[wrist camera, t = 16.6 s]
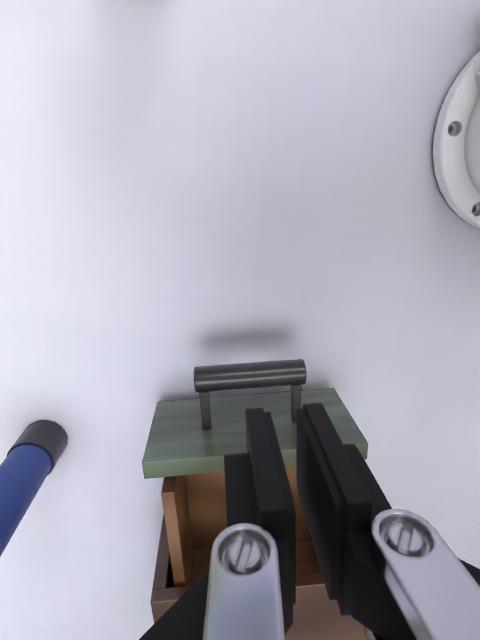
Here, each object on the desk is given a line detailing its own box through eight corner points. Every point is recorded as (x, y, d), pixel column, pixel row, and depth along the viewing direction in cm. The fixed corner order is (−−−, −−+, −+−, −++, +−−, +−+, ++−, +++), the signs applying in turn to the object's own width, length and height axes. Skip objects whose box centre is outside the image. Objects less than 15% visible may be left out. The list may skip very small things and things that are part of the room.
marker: (19, 421, 30) (-91, 556, 19) (63, 418, 30) (-22, 550, 19) (29, 456, 31) (-71, 603, 20) (71, 453, 31) (-6, 597, 20)
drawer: (150, 347, 28) (131, 396, 21) (335, 334, 28) (373, 378, 22) (176, 546, 34) (168, 631, 27) (328, 531, 34) (355, 611, 28)
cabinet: (165, 499, 33) (150, 602, 25) (333, 483, 34) (373, 579, 26) (182, 624, 38) (174, 744, 30) (328, 608, 39) (359, 721, 31)
